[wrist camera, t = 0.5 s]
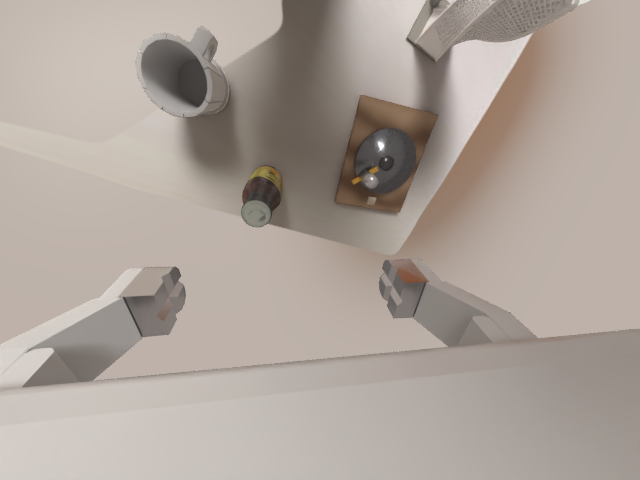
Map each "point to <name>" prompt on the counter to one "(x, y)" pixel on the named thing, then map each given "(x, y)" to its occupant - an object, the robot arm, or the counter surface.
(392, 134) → the dial
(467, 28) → the skyscraper
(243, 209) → the sauce bottle
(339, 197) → the stand
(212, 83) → the cup
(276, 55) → the counter surface
